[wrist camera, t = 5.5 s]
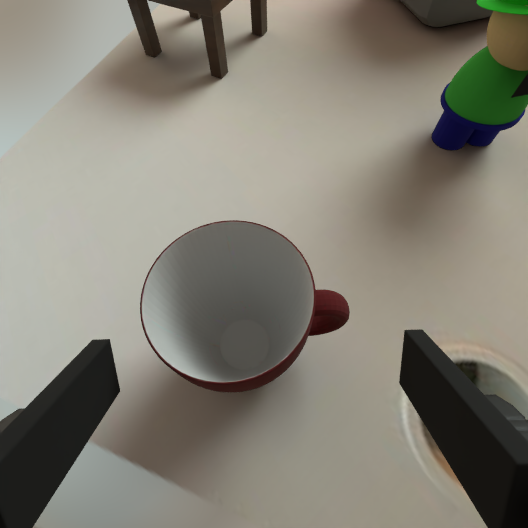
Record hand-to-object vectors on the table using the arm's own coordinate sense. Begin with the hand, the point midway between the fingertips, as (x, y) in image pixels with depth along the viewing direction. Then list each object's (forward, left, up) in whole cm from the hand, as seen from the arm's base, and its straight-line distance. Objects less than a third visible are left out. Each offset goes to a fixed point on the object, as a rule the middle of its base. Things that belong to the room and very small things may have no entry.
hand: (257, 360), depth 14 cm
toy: (+31, -6, -9) cm, 33 cm away
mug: (+3, +2, -9) cm, 9 cm away
